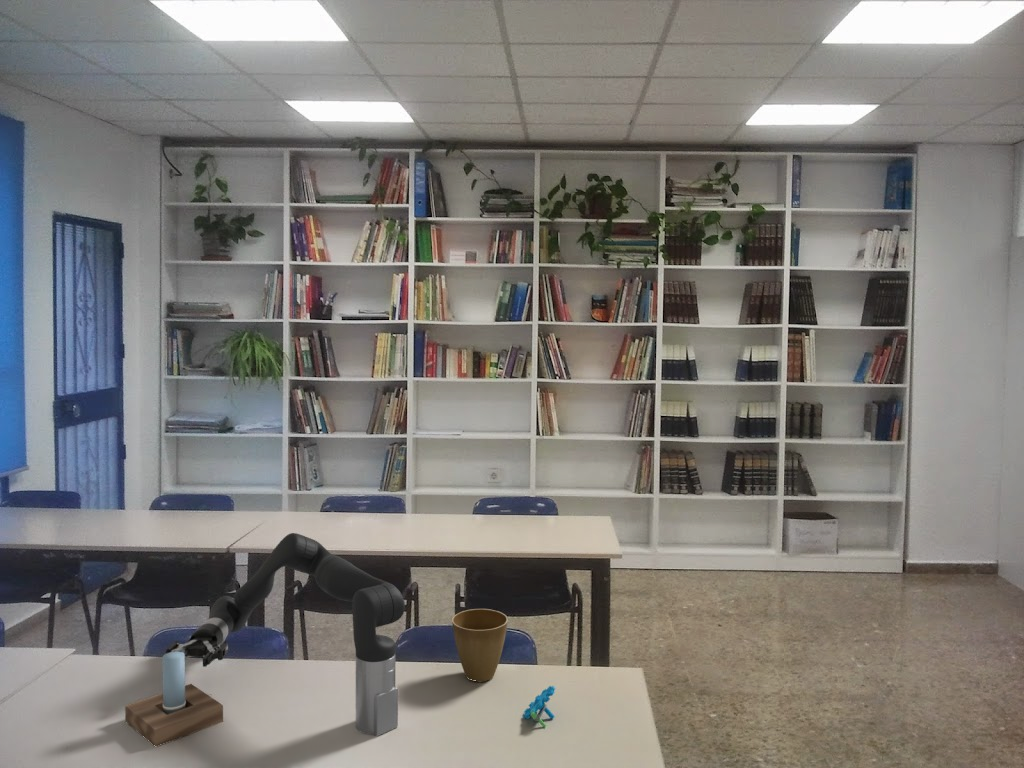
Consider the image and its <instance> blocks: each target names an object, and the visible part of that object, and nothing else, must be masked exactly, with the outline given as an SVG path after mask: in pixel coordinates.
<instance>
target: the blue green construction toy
mask: <svg viewBox="0 0 1024 768" xmlns="http://www.w3.org/2000/svg"><path fill="white" fill-rule="evenodd" d="M555 690H556V688H555V687H554V685H552V686H551V685H550V686H548V687H547V688H545V689H543V690H542V691H541V693H540V694H538V695H536V697H535V699H534V701H531V702H530V703H529V705H528V706H529V707H527V708H526V709H525V710H524V711H523V712H524V714H522V716H523V718H524V720H525V719H527V720H528V719H530V717H532V719H533V720H534V721H535V722H538V723H539V724H540V725H541V726H542V727H543V728H546V727H547V725H546V723H545V722H544V721H543V720H542V718H541V717H542V716H543V713H544V712H545V714H546V715H547V716H548V717H549V718H550V719H551V720H553V719H554V718H555V714H553V713H552V711H551V710H550V709H549V708H548V707H547V704H546V703H548V702H549V701H550V700H551V698H550V697H553V695H554V694H555Z"/></svg>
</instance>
